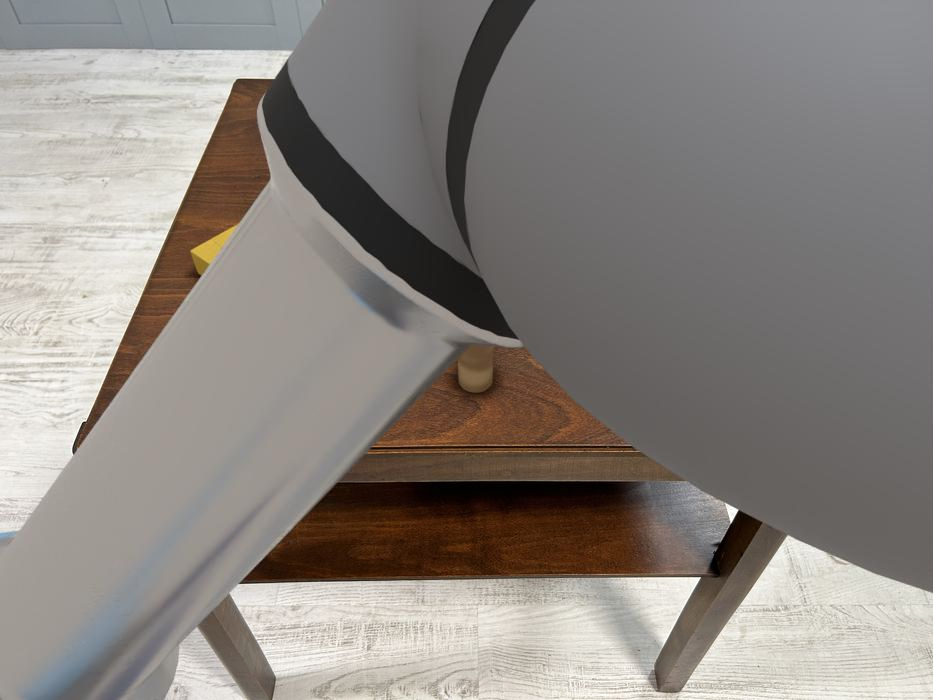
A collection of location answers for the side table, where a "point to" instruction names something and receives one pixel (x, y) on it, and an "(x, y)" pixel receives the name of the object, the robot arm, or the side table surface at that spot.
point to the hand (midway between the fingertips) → (574, 277)
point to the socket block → (209, 250)
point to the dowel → (476, 368)
